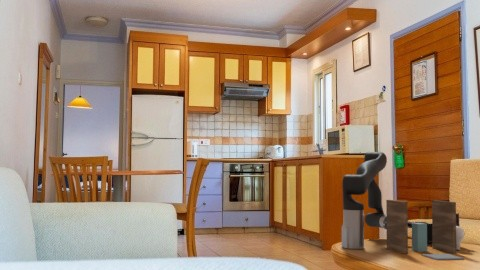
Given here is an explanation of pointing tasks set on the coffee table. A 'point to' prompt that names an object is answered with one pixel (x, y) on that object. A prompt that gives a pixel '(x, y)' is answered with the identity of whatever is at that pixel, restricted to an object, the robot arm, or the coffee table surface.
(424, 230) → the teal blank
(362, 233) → the robot arm
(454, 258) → the slate mat
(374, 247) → the coffee table surface
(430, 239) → the pen holder
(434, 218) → the wooden divider stand
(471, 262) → the coffee table surface
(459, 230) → the lightbulb
